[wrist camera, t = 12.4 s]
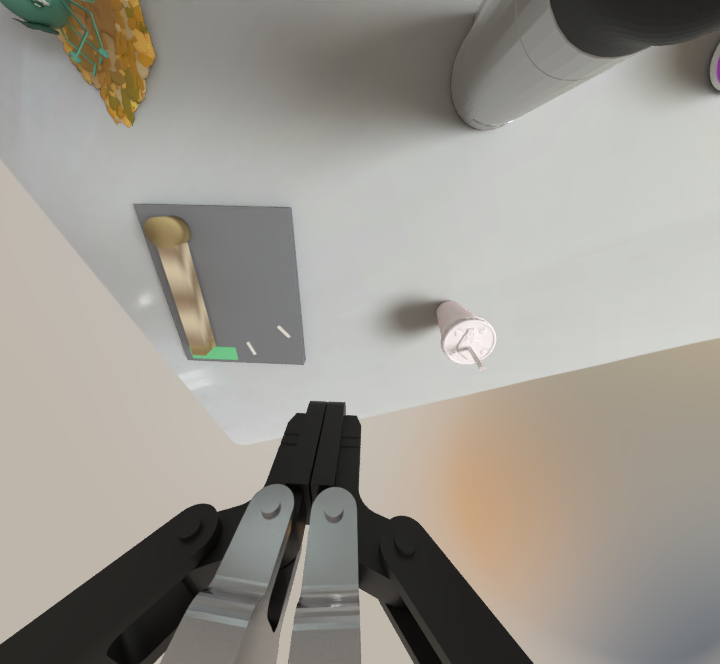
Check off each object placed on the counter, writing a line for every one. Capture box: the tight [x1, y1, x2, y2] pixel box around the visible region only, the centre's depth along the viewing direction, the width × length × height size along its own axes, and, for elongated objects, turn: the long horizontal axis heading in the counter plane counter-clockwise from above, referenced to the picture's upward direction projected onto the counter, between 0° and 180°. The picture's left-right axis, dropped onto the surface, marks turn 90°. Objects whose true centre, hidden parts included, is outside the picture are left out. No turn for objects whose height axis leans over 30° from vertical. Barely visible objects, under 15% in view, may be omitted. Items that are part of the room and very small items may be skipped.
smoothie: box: [436, 301, 496, 370], centre depth 34 cm, size 6×6×14 cm
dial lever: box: [144, 216, 216, 356], centre depth 36 cm, size 19×4×3 cm, turn 179°
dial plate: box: [134, 204, 306, 365], centre depth 39 cm, size 24×20×2 cm
